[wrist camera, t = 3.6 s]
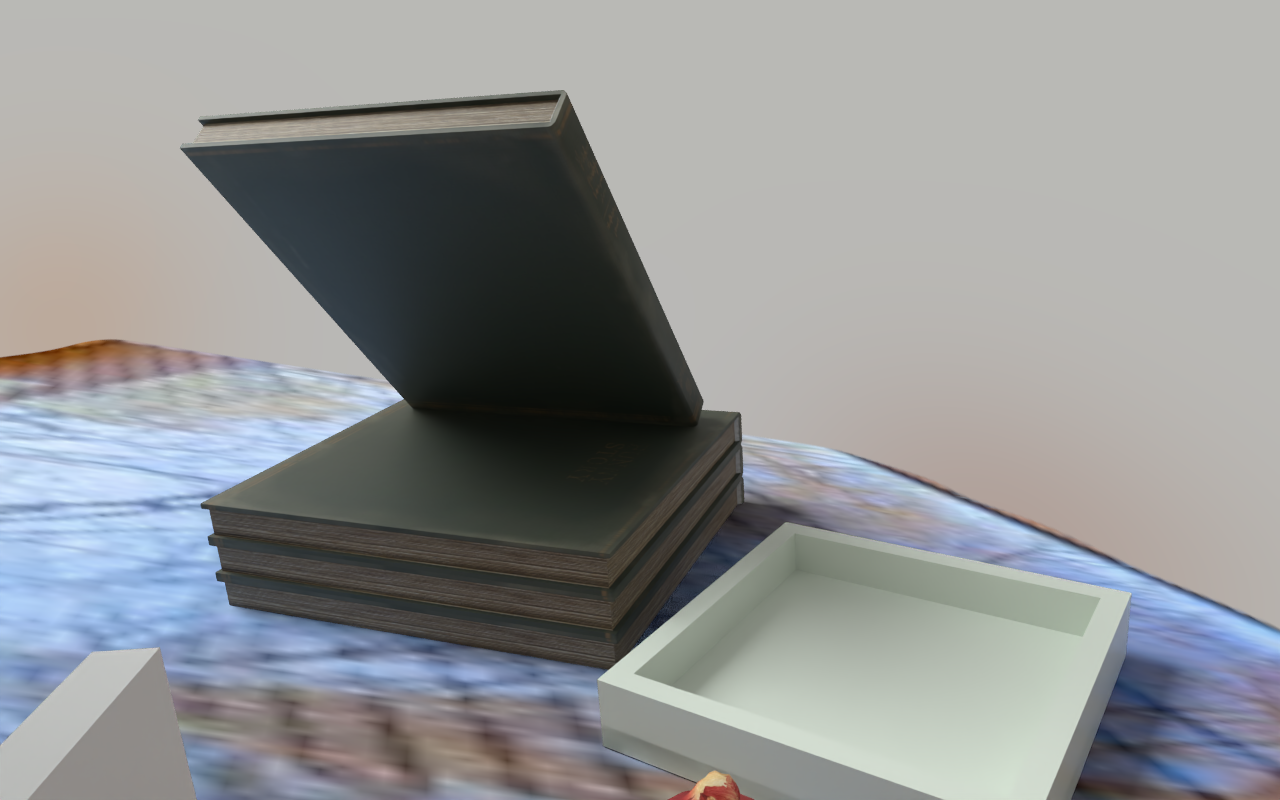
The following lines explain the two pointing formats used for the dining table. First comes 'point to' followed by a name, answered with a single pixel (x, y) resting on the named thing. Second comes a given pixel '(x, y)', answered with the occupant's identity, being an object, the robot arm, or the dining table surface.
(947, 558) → the tray
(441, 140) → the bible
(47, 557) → the dining table surface
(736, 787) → the onion
